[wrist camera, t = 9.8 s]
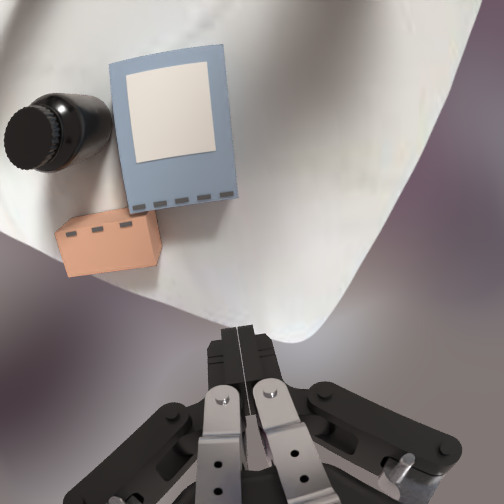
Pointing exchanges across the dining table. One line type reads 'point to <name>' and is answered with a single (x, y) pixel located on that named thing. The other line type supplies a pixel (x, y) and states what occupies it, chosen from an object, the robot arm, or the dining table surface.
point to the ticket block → (174, 128)
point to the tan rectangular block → (109, 242)
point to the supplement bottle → (57, 132)
